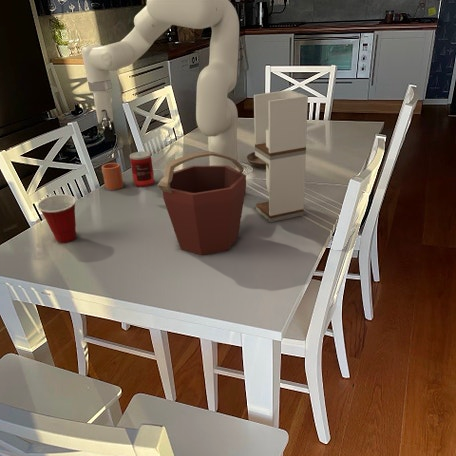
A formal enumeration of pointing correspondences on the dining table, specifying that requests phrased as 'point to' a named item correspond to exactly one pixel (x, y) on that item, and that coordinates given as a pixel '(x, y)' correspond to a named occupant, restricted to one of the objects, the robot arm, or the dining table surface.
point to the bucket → (204, 203)
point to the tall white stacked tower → (282, 151)
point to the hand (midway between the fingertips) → (110, 137)
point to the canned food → (142, 168)
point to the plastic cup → (60, 216)
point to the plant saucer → (256, 161)
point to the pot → (112, 176)
